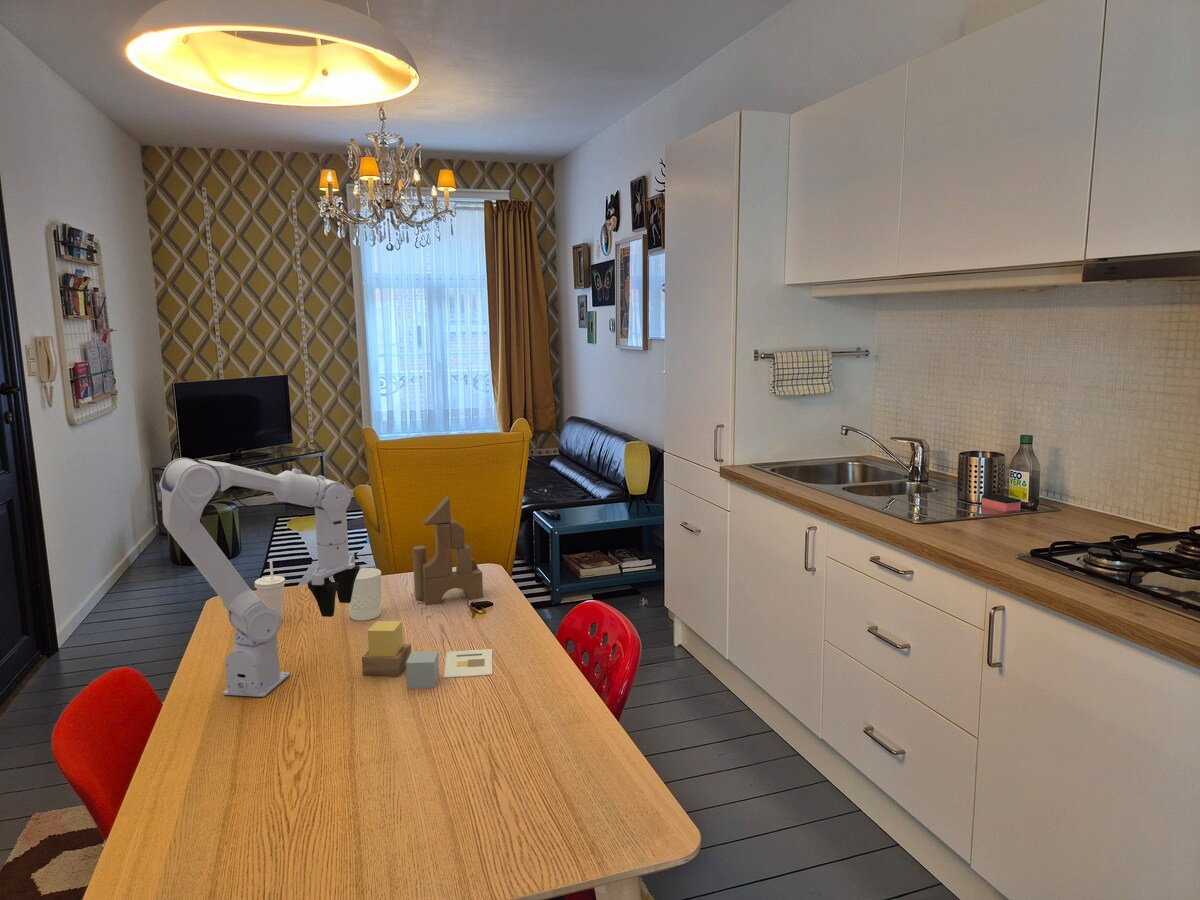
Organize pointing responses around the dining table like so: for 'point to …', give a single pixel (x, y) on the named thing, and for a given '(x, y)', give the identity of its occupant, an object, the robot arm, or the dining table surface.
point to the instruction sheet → (468, 663)
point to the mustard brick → (385, 638)
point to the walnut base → (386, 663)
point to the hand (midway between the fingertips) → (336, 609)
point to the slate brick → (422, 670)
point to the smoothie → (271, 591)
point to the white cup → (366, 595)
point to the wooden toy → (445, 561)
